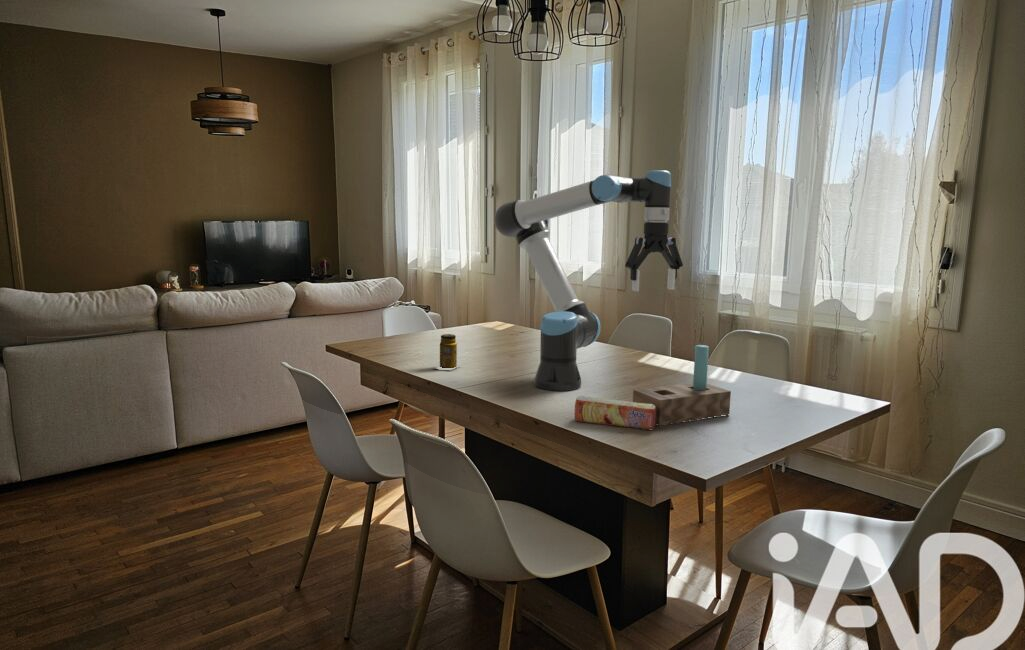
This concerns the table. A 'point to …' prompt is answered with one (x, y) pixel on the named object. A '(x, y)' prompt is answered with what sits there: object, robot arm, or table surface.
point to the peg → (700, 367)
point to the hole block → (684, 402)
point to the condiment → (448, 351)
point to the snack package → (615, 412)
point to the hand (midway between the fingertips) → (653, 290)
